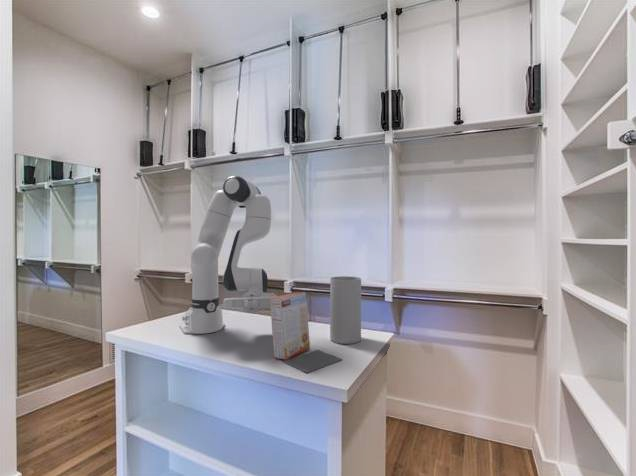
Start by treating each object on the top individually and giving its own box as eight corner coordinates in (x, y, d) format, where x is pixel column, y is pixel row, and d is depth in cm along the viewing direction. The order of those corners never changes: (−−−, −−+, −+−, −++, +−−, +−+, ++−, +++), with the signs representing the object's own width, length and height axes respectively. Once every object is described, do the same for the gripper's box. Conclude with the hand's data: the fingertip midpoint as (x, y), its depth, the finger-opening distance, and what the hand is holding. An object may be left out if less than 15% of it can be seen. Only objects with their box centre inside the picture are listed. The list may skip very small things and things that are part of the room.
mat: (283, 362, 108) (283, 361, 108) (318, 350, 119) (318, 349, 119) (306, 373, 99) (306, 372, 99) (342, 360, 110) (342, 358, 110)
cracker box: (297, 346, 123) (294, 291, 124) (310, 348, 119) (307, 292, 120) (272, 358, 111) (269, 297, 112) (285, 360, 108) (282, 297, 109)
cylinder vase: (349, 347, 123) (349, 281, 123) (323, 340, 131) (324, 278, 131) (366, 339, 132) (367, 278, 132) (342, 333, 140) (342, 275, 140)
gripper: (225, 294, 127) (220, 295, 114) (277, 292, 130) (279, 293, 117) (225, 310, 126) (220, 313, 113) (277, 308, 130) (279, 311, 116)
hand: (250, 303), depth 115 cm, fingers closed
